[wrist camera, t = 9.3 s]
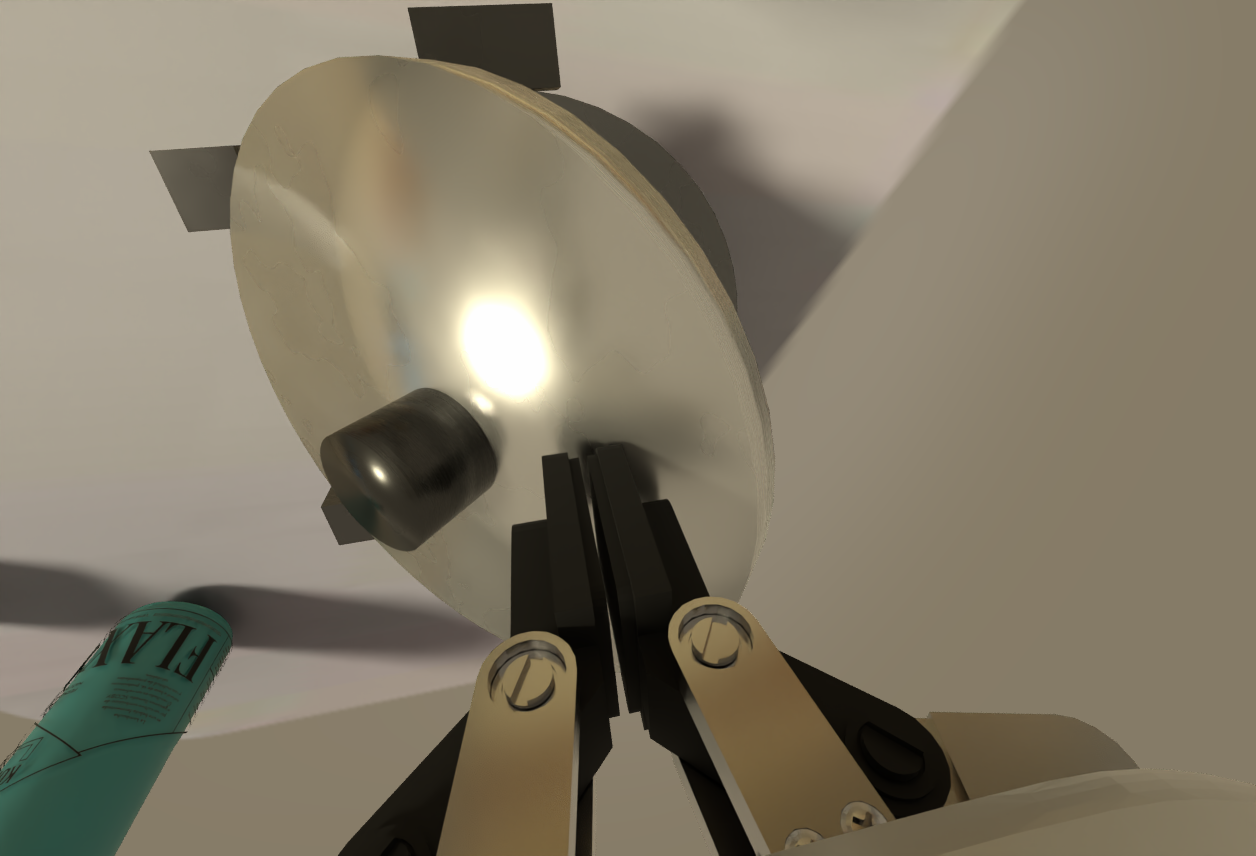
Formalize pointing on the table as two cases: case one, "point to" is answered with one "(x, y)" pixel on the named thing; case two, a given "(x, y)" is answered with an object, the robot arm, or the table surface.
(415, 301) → the cooker lid
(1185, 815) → the robot arm
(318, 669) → the table surface
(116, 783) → the beverage bottle
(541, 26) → the cooker pot
